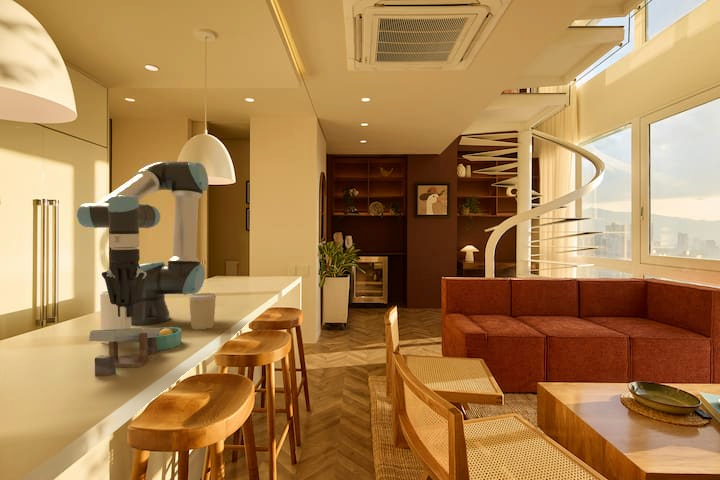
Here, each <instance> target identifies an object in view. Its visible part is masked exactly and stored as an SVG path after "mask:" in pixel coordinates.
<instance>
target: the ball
mask: <svg viewBox="0 0 720 480" xmlns="http://www.w3.org/2000/svg"><path fill="white" fill-rule="evenodd" d="M169 334H173V332H172V331H171V330H170V329H167V328H166V329H163V330H161V331H160V334H159V336H162V335H169Z"/></svg>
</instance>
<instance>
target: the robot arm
mask: <svg viewBox="0 0 720 480" xmlns="http://www.w3.org/2000/svg"><path fill="white" fill-rule="evenodd" d="M208 189H209V178H208V173H207V170H206V168H205V166H204V165H203V163H201V162H199V161H198V162H197V161H171V160H170V161H169V160H168V161H166V160H165V161H158V162H157V161H156V162H155V163H151V164H149V165H147V166H145V167H143V168H141V169H139V170H138V171H136V173H134V175H133V178H131V179H130V180H129V181H126V182H125V183H124V184H123V185H120V186H119V187H118V188H117V189H115V190H114V191H112V192H110V193H109V194H108V195H107V196H105V197H103V198H102V199H101V200H99V201H97V202H96V203H91V202H90V203H83V204H81V205H80V206H79V207H78V209H77V212H76V218H77V220H78V223H79V224H80V225H81V226H83V228H94V229H97V228H98V229H99V228H100V229H101V228H103V229H105V228H106V229H108V238H109V239H108V241H109V243H108V245H109V248H111V249H109V252H108V253H109V254H108V255H109V256H108V257H109V258H108V259H109V260H108V261H109V262H110V265H109V269H108V270H106V271H102V272H101V276H102V278H103V279H104V282H105V284H106V291H108V294H109V298H110V302H111V304H115V305H117V306H118V317H120V329H125V328H129V327H130V328H132V325H134V326H137V325H139V326H142V325H143V326H144V325H153V324H159V323H163V322H167V321H168V320H169V319H170V314H171V313H170V311H169V309H168V308H169V307H168V305H167V303H166V300H165V299H166V296H165V295H184V296H185V295H193V294H198V293H199V292H200V290H201V289H202V287H203V285H204V281H205V277H206V272H205V271H206V269H205V267H204V265H203V264H202V265H201V261H200V260H199V258H198V257H197V242H198V240H197V239H198V238H197V237H198V218H199V217H198V216H199V199H201V198H202V197H203V193H204V191H207V190H208ZM157 191H171V193H170V194H171V195H173V196H174V198H175V199H174V202H175V203H174V204H175V205H174V223H173V239H172V241H173V242H172V256H171V257H170V258H169V259H168V260H167V265H166V263H165V261H154V262H148V263H147V262H146V263H140V264H139V261H140V260H141V259H140V249H139V248H140V229H151V228H153V227H156V226H157V225H159V222H160V221H161V213H160V211H159V209H158V208H157V207H155V206H154V205H150V204H142V203H140V202H141V201H142V200H143V199H144V198H145V197H147V196H148V195H149V194H154V193H156V192H157Z"/></svg>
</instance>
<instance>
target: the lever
mask: <svg viewBox="0 0 720 480" xmlns="http://www.w3.org/2000/svg"><path fill="white" fill-rule="evenodd" d="M160 328H161V327H156V328H155V327H154V328H153V327H152V328H143V327H130V328H125V329H106V330H101V329H94V330H93V329H92V330H90V331H89V338H88V342H101V341H105V342H114V341H115V342H120V343H125V344H126V343H129V344H130V343H131V344H133V343H135V344H139V334H141V333H147V338H153V337H157V335H158V334H160Z"/></svg>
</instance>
